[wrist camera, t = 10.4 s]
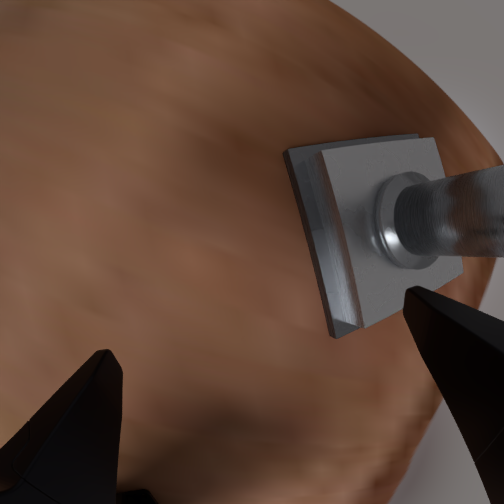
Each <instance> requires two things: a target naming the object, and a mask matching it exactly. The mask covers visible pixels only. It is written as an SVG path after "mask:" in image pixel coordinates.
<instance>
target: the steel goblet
mask: <svg viewBox="0 0 504 504" xmlns="http://www.w3.org/2000/svg"><path fill="white" fill-rule="evenodd" d="M373 220H374V229H375V234H376V238H377V240H378V243H379V245H380V247H381V250H382V251H383V253H384V254H385V256H386V257H387V258H388V259H389V260H390V261H391V262H392V263H393V264H395V265H396V266H398V267H400V268H404V269H414V270H420V269H425V268H427V267H429V266H430V265H432V264H433V263H434V262H435V261H436V260H437V258H438V257H439V256H462V257H504V165H501V166H496V167H492V168H487V169H482V170H478V171H473V172H468V173H464V174H459V175H455V176H450V177H446V178H441V179H437V180H432V181H430V180H429V179H428V178H427V177H425V176H424V175H422V174H420V173H417V172H412V171H410V172H404V173H401V174H397V175H394V176H392V177H390V178H389V179H387V180H386V181H385V182H384V183H383V185H382V186H381V188H380V189H379V191H378V194H377V196H376V200H375V204H374V211H373Z"/></svg>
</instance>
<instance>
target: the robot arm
mask: <svg viewBox="0 0 504 504" xmlns="http://www.w3.org/2000/svg"><path fill="white" fill-rule="evenodd" d="M403 315H404V318H405V320H406V323H407V325H408V327H409V329H410V331H411V334H412V336H413V338H414V341H415V343H416V345H417V348H418V350H419V352H420V354H421V357H422V358H423V360H424V362H425V364H426V366H427V368H428V369H429V371H430V373H431V375H432V377H433V379H434V381H435V382H436V384H437V386H438V388H439V390H440V392H441V394H442V396H443V398H444V400H445V401H446V403H447V405H448V407H449V409H450V411H451V413H452V415H453V417H454V419H455V421H456V423H457V426H458V428H459V430H460V432H461V434H462V436H463V438H464V441H465V443H466V445H467V447H468V449H469V451H470V453H471V456H472V458H473V461H474V462H475V466H476V468H477V470H478V473H479V475H480V478H481V480H482V482H483V485H484V487H485V490H486V493H487V495H488V498H489V500H490V503H491V504H504V321H502V320H499V319H497V318H495V317H493V316H490V315H488V314H486V313H483V312H481V311H479V310H476V309H474V308H472V307H469V306H467V305H465V304H462V303H460V302H458V301H455V300H453V299H450V298H448V297H446V296H443V295H441V294H438V293H436V292H434V291H431V290H429V289H426V288H424V287H421V286H418V285H417V286H413V287H410V288H407V289H406V291H405V297H404V305H403ZM122 387H123V371H122V368H121V366H120V364H119V363H118V361H117V360H116V358H115V356H114V355H113V353H112V351H111V350H109V349H104V350H98V351H96V352H95V353H94V354H93V355H92V356H91V357H90V358H89V359H88V360H87V361H86V362H85V363H84V364H83V365H82V366H81V367H80V368H79V369H78V370H77V371H76V372H75V373H74V374H73V375H72V376H71V377H70V378H69V379H68V380H67V381H66V382H65V383H64V384H63V385H62V386H61V387H60V388H59V389H58V390H57V391H56V392H55V393H54V394H53V395H52V397H51V398H50V399H49V400H48V401H47V402H46V403H45V404H44V405H43V406H42V407H41V408H40V409H39V410H38V411H37V412H36V413H35V414H34V415H33V416H32V417H31V418H30V420H29V421H27V423H26V424H25V425H24V426H23V427H22V428H21V429H20V430H19V431H18V432H17V433H16V434H15V435H14V436H13V437H12V438H11V439H10V440H9V441H8V442H7V443H6V444H5V445H4V446H3V447H2V448H0V504H158V503H157V502H156V500H155V499H154V497H153V496H152V495H151V493H150V492H149V491H148V490H145V489H142V490H136V491H131V492H125V493H119V494H116V486H117V468H118V454H119V442H120V432H121V422H122ZM142 494H145V495H142Z"/></svg>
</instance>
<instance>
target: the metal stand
mask: <svg viewBox="0 0 504 504" xmlns="http://www.w3.org/2000/svg"><path fill="white" fill-rule="evenodd" d="M283 157H284V160H285V164H286V167H287V170H288V174H289V177H290V181H291V184H292V188H293V191H294V195H295V198H296V202H297V205H298V209H299V213H300V216H301V220H302V224H303V228H304V231H305V235H306V239H307V243H308V247H309V251H310V254H311V258H312V262H313V266H314V270H315V274H316V279H317V283H318V287H319V291H320V295H321V300H322V304H323V308H324V313H325V317H326V321H327V326H328V330H329V335H330V336H331V337H333V338H335V339H338V338H340V337H342V336H344V335H346V334H348V333H350V332H352V331H354V330H356V329H358V328H360V327H361V328H364V329H365V328H367V327H369V326H371V325H373V324H375V323H377V322H379V321H381V320H383V319H384V318H386V317H388V316H390V315H392V314H394V313H396V312H398V311H399V310H401V309H403V305H404V297H405V291H406V289H407V288H410V287H413V286H417V285H418V286H421V287H424V288H426V289H429V290H431V291H434V290H436V289H438V288H439V287H441V286H443V285H444V284H446V283H448V282H449V281H451V280H452V279H454V278H456V277H457V276H459V275H460V274H462V273H463V265H462V258H461V256H439V257H438V258H437V260H436V261H435V262H434V263H433V264H432V265H430V266H429V267H427V268H425V269H420V270H414V269H404V268H400V267H398V266H396V265H395V264H393V263H392V262H391V261H390V260H389V259H388V258H387V257H386V256H385V254H384V253H383V251H382V250H381V247H380V245H379V243H378V240H377V238H376V234H375V229H374V220H373V211H374V204H375V200H376V196H377V194H378V191H379V189H380V188H381V186H382V185H383V183H384V182H385V181H386V180H387V179H389V178H390V177H392V176H394V175H397V174H401V173H404V172H410V171H412V172H417V173H420V174H422V175H424V176H425V177H427V178H428V179H429V180H430V181H432V180H437V179H441V178H445V174H444V170H443V166H442V163H441V159H440V156H439V153H438V149H437V146H436V143H435V140H434V137H431V138H419V136H418V134H405V135H393V136H382V137H372V138H363V139H354V140H346V141H338V142H331V143H324V144H317V145H310V146H304V147H297V148H291V149H287V150H286V151H285V152H283Z"/></svg>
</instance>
